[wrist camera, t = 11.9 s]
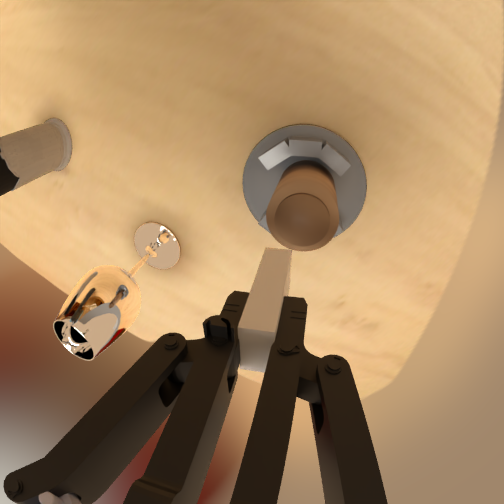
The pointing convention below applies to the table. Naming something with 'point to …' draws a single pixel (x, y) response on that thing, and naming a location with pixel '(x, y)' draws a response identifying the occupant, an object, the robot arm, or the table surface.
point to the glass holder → (33, 153)
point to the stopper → (304, 207)
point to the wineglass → (111, 296)
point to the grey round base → (297, 149)
